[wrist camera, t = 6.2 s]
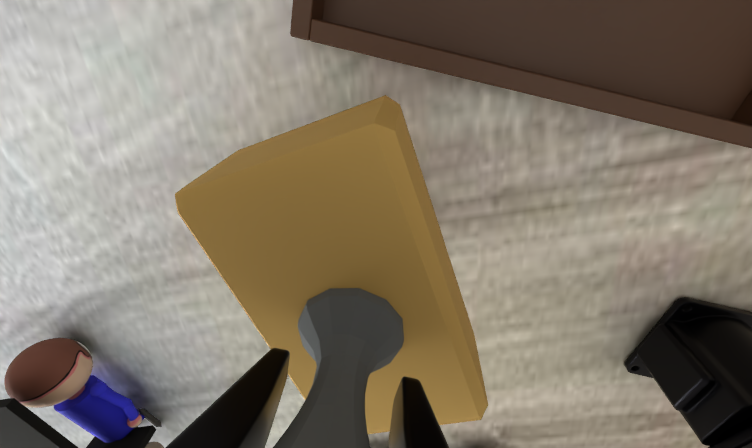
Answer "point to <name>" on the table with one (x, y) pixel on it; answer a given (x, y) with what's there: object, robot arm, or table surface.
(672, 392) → the robot arm
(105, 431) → the figurine character
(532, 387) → the table surface
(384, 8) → the tray
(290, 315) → the rubber stamp
